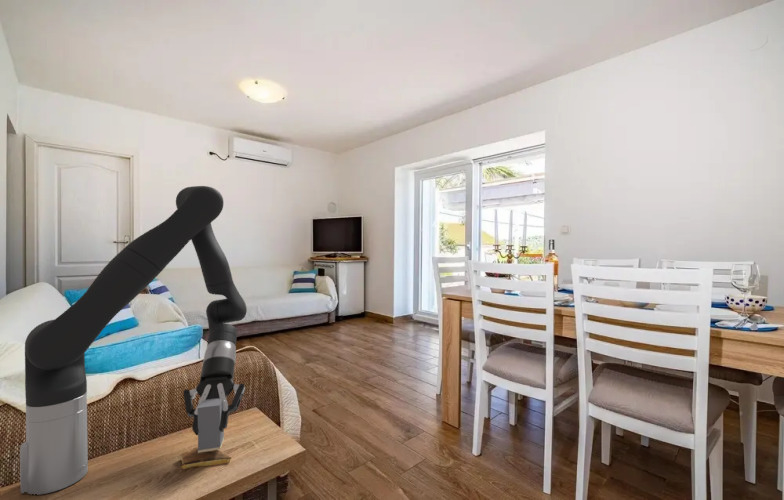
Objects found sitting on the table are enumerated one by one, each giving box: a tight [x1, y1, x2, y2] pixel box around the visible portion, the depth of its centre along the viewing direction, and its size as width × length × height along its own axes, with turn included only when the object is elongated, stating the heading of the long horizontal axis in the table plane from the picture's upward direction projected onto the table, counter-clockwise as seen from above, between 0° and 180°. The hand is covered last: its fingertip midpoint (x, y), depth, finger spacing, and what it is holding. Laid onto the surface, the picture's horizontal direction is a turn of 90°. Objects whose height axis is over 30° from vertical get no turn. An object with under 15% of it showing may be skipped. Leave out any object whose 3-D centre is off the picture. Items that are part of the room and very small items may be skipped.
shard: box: [177, 446, 232, 470], centre depth 79 cm, size 11×8×2 cm
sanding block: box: [197, 398, 225, 453], centre depth 81 cm, size 5×5×10 cm
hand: (209, 431), depth 79 cm, fingers closed on sanding block, 4 cm apart
